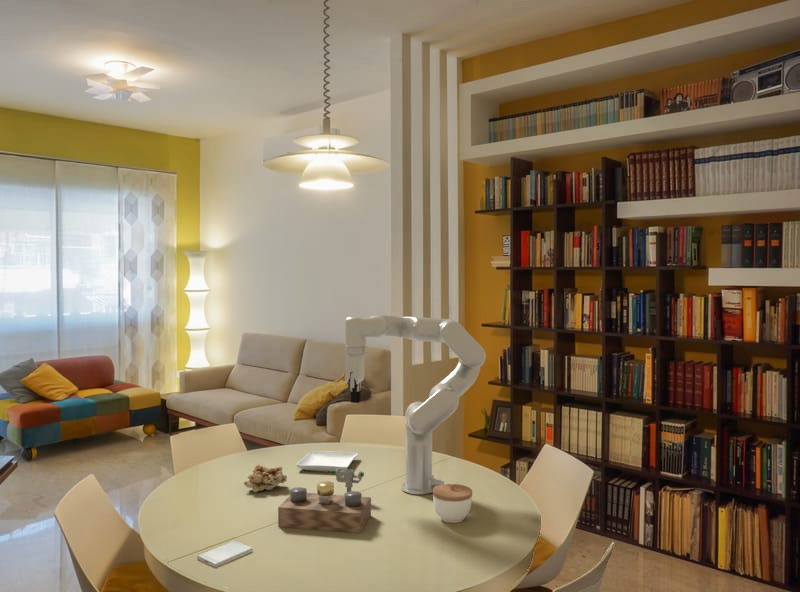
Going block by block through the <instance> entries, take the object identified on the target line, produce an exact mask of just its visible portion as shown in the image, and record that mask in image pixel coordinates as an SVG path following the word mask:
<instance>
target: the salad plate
mask: <svg viewBox="0 0 800 592" xmlns="http://www.w3.org/2000/svg"><path fill="white" fill-rule="evenodd" d="M358 456H359V453H358V452H351V451H335V450H334V451H330V450H329V451H327V450H326V451H325V450H311V451H309V452H307V454H306V455H304V457H302V458H301V459H300V460H298V462H297V463H296V467H297V468H299V469H301V470H304V471H309V470H310V471H312V472H313V471H314V472H328V471H330V472H331V473H332V472H333V471H335V470H337V469H349V466H350V465H351V464H352V462H354V460H355V459H356V458H357V457H358ZM333 473H334V472H333Z"/></svg>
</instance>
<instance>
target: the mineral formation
mask: <svg viewBox="0 0 800 592" xmlns="http://www.w3.org/2000/svg"><path fill="white" fill-rule="evenodd" d="M247 478H248V480H247V481H244V482H243V485H244V486H245V487H246V488H251V489H252V492H254V493H257V492H261V491H264V489H265V491H273V489H274V488H275V487H276V486H278V485H279V484H280V483H281V484H285V482H287V478H288V476H287V474H283V467H282V466H278V467H277V466H275V467H273V468H272V467H266V466H263V465H261V464H256V466H255V467H254V469H253V470H252V474H249V475H248V476H247Z"/></svg>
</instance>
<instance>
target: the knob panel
mask: <svg viewBox="0 0 800 592" xmlns="http://www.w3.org/2000/svg"><path fill="white" fill-rule="evenodd" d="M277 513H278V514H277V515H278V516H277V517H278V519H277V520H278V522H277V525H278V527H279V528H280V527H281V528H293V529H306V530H318V531H327V532H328V531H331V532H342V533H343V532H344V533H351V534H352V533H353V534H354V533H355V534H361V532H362V531H363V529H364V528H365V526H366V524H367V522H368V521H369V519H371V516H372V497H371V496H362V504H361V505H359V506H358V507H350V506H346V505H345V494H343V495H341V494H333V495H332V503H331V504H330V505H325V504H319V495H318V494H317V492H316V493H313V492H307V500H306V501H304V502H303V503H298V502H292V501H290V496H288V497H287V498H286V499H285V500H284V501H283V502H282V503H280V505H279V506H277Z"/></svg>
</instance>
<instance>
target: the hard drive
mask: <svg viewBox="0 0 800 592" xmlns="http://www.w3.org/2000/svg"><path fill="white" fill-rule="evenodd" d="M252 552H253V548H252V547H251V546H249V545H247V544H244V543H242V542H239V541H237V540H233V541H231V542H228V543H226V544H223V545H221V546H219V547H216V548H214V549H211V550H209V551H206V552H203V553H201V554H198V555H197V556H196V558H197V560H198V561H201V562H202V563H205V564H207V565H209V566H210V567H213V568H217V567H221V566H222V565H225V564H226V563H230V562H232V561H234V560H237V559H238V558H241V557H243V556H246V555H247V554H250V553H252Z"/></svg>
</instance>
